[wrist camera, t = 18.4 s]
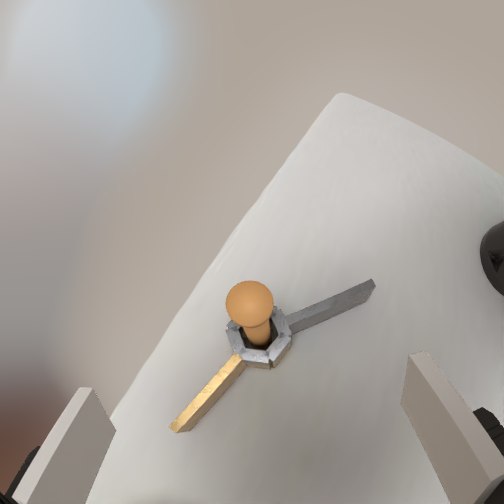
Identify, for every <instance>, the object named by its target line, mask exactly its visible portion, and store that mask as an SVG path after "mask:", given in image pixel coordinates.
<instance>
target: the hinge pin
mask: <svg viewBox="0 0 504 504" xmlns="http://www.w3.org/2000/svg"><path fill="white" fill-rule="evenodd" d="M273 307H274V305H273V297H272V294H271V292H270V290H269V289H268V288H267V287H266V286H265V285H263V284H262V283H260V282H257V281H244V282H241V283H239V284H237V285H235V286H234V287H233V288H232V289H231V290H230V292H229V293H228V295H227V298H226V310H227V312H228V314H229V316H230V318H231V319H232V321H233V322H234V323H235V324H237V325H239V326H241V327H243V329H244V331H245V333H246V335H247V337H248V339H249V341H250V343H251V346H252V348H253V349H255V350H263V351H266V350H267V349H268V348H269V347H270V345H271V344H272V337H271V331H270V325H269V318H270V317H271V315H272V312H273Z"/></svg>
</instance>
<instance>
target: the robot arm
mask: <svg viewBox="0 0 504 504" xmlns="http://www.w3.org/2000/svg"><path fill="white" fill-rule="evenodd" d="M480 253H481V261H482V265H483V268H484V270H485V273H486V275H487V277H488V279H489V280H490V282H491V283H492V285H493V286H494V287H495V288H496V289H497V290H498V291H499V292H500V293H501V294H503V295H504V221H503V222H501V223H499V224H497V225H495V226H493V227H492V228H491V229H490V230H489V231H488V232H487V233H486V235H485V236H484V238H483V240H482V242H481V249H480ZM401 405H402V407H403V408H404V410H405V412H406V414H407V416H408V418H409V420H410V422H411V424H412V426H413V427H414V429H415V431H416V433H417V435H418V437H419V439H420V441H421V443H422V445H423V447H424V449H425V451H426V453H427V455H428V457H429V459H430V461H431V463H432V465H433V467H434V469H435V471H436V473H437V475H438V477H439V480H440V482H441V484H442V486H443V488H444V490H445V492H446V495H447V497H448V499H449V501H450V503H451V504H483V503H484V504H504V428H503V426H502V425H500V422H499V421H498V420H497V418H496V417H495V416H494V414H493V413H491V412H489V411H488V410H486V409H485V408H483V407H482V408H479V409H477V410H475V411H473V412H472V411H471V410H470V408H469V407H468V405H467V404H466V403H465V401H464V400H463V399H462V397H461V396H460V395H459V393H458V392H457V391H456V389H455V388H454V387H453V385H452V384H451V383H450V382H449V380H448V379H447V378H446V376H445V375H444V374H443V372H442V371H441V370H440V369H439V367H438V366H437V365H436V364H435V362H434V361H433V360H432V359H431V357H430V356H429V355H428V354H427V352H426V351H422V352H418V353H415V354H411V355H409V358H408V365H407V372H406V378H405V384H404V389H403V395H402V400H401ZM115 432H116V429H115V428H114V426H113V424H112V422H111V421H110V419H109V417H108V415H107V414H106V412H105V410H104V408H103V406H102V405H101V403H100V401H99V399H98V397H97V395H96V393H95V391H94V389H93V388H82V387H80V388H79V389H78V390H77V392H76V393H75V395H74V396H73V398H72V399H71V401H70V402H69V404H68V405H67V407H66V408H65V410H64V411H63V413H62V414H61V416H60V418H59V419H58V421H57V422H56V424H55V425H54V427H53V429H52V430H51V432H50V433H49V435H48V436H47V438H46V440H45V441H44V443H43V445H42V446H41V447H40V446H38V447H36V448H35V449H34V450H33V451H32V452H31V453H30V454H29V455H28V457H27V459H26V460H25V464H23V465H22V467H21V470H20V471H19V472H18V474H17V475H16V477H15V479H14V480H13V482H12V484H11V485H10V487H9V489H8V491H7V492H6V494H5V495H3V494H2V493H1V492H0V504H85V503H86V500H87V498H88V495H89V493H90V490H91V488H92V486H93V483H94V481H95V478H96V476H97V474H98V471H99V469H100V467H101V464H102V462H103V460H104V457H105V455H106V453H107V450H108V448H109V446H110V444H111V441H112V439H113V437H114V435H115Z"/></svg>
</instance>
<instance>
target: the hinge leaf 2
mask: <svg viewBox="0 0 504 504" xmlns="http://www.w3.org/2000/svg"><path fill="white" fill-rule="evenodd" d="M375 287H376V285H375V284H374V282H373V280H372V279H370V280H368V281H366V282H364V283H362V284H359V285H357V286H355V287H353V288H351V289H348V290H346V291H344V292H342V293H340V294H337V295H335V296H333V297H331V298H328V299H326V300H324V301H321V302H319V303H317V304H314V305H312V306H310V307H307V308H305V309H303V310H300V311H298V312H295V313H293V314H291V315H288V316H286V317H284V315H283V313H282V311H281V309H279V310H277V306H274V307H273V312H272V315H271V317H270V318H269V323H272V324H273V326H274V329H275V331H276V333H277V336H278V337H277V338H276V339H275V341H274V342H273V343H272V344H271V345H270V347H269V348H268V349H267V350H266V351H263V350H255V349H248V348H246V347H245V344H244V342H243V339H242V336H241V335H242V334H243V332H244V329H243V327H241V326H239V325H237V324H235V323H234V322H233V321H232V320H231V321H230V322H229V323H228V324H227V327H228V329H227V330H226V333H227V335H228V338H229V341H230V343H231V346H232V349H233V352H234V353H235V352H236V353H237V355H240V356H241V357H242V360H243V362H244V363H247V364H254V365H261V366H269V365H270V362H271V363H272V364H273V365H274V364H275V363H276V361H277V360H278V359H279V358H280V357H281V355H282V354H283V353H284V352H285V350H286V349H287V348H288V346H289V345H290V344H291V337H292V334H295V333H297V332H300V331H302V330H304V329H307V328H309V327H311V326H314V325H316V324H318V323H320V322H323V321H325V320H327V319H329V318H332V317H334V316H336V315H338V314H340V313H343V312H345V311H347V310H349V309H351V308H353V307H355V306H358V305H360V304H362V303H364V302H366V300H367V299H368V298H369V296H370V294H371V293H372V291H373V290H374V288H375ZM235 355H236V354H235Z"/></svg>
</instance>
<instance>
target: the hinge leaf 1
mask: <svg viewBox="0 0 504 504" xmlns="http://www.w3.org/2000/svg"><path fill="white" fill-rule="evenodd" d="M269 325H270V329H273V330H274V333H275V335H276V337H278V336H277V333H276V331H275V329H274V326H273V324H272V323H269ZM241 336H242V339H243V342H244V339H245V338H246V337H247V335H246V333H245V331H244V332H243V334H242V335H241ZM244 344H245V342H244ZM290 345H291V344H290ZM290 345H289V346H288V348H287V349H286V350H285V352H284V353H283V354H282V355H281V357H280V358H279V359H278V360H277V361H276V363H275V364H274V365H273V364H272V363H271V362H270V365H269V366H261V365H254V364H247V363H244V362H243V360H242V357H241V356H240V355H237V353H236V352H235V353H234V354H233V356H232V357H231V358H230V359H229V360H228V361H227V363H226V364H225V365H224V366H223V367H222V368H221V369H220V371H219V372H218V373H217V374H216V375H215V376H214V377H213V379H212V380H211V381H210V382H209V383H208V384H207V385H206V386H205V388H204V389H203V390H202V391H201V392H200V393H199V394H198V395H197V397H196V398H195V399H194V400H193V401H192V402H191V403H190V404H189V405H188V406H187V408H186V409H185V410H184V411H183V412H182V413H181V414H180V415H179V416H178V417H177V418H176V420H175V421H174V422H173V423H172V424H171V425H170V426H169V427H170V428H171V429H172V430H173V431H174V432H175V433H180V432H186V431H190V430H191V429H192V428H193V427H194V426H195V425H196V423H197V422H198V421H199V420H200V419H201V418H202V417H203V416H204V415H205V414H206V413H207V411H208V410H209V409H210V408H211V407H212V406H213V405H214V404H215V403H216V401H217V400H218V399H219V398H220V397H221V396H222V395H223V394H224V392H225V391H226V390H227V389H228V388H229V387H230V386H231V384H232V383H233V382H234V381H235V380H236V379H237V378H238V376H239V375H240V374H241V373H242V372H243V371H244V369H245V368H246V367H247V366H249V367H255V368H263V369H270V368H271V366H273V367H274V368H275V367H276V365H277V364H278V363H279V362H280V360H281V359H282V358H283V357H284V355H285V354H286V353H287V352H288V350H289V349H290ZM245 347H246V345H245ZM246 348H247V347H246ZM235 354H236V355H235Z"/></svg>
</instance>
